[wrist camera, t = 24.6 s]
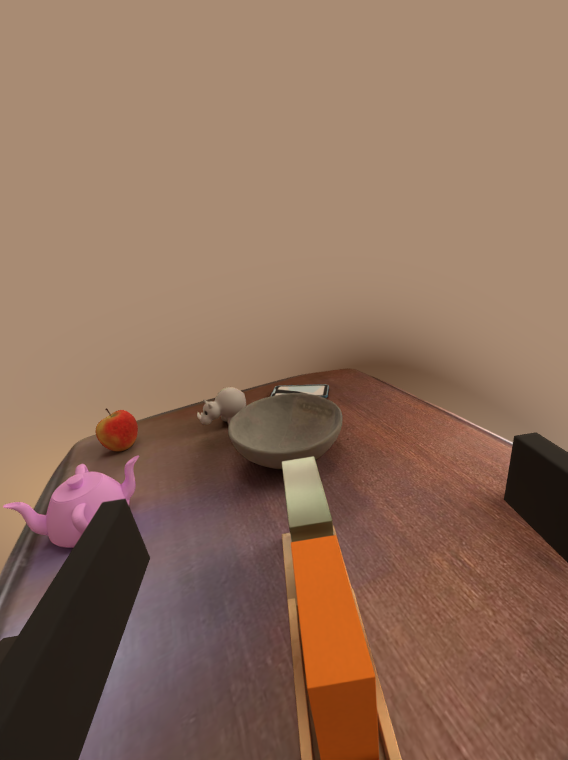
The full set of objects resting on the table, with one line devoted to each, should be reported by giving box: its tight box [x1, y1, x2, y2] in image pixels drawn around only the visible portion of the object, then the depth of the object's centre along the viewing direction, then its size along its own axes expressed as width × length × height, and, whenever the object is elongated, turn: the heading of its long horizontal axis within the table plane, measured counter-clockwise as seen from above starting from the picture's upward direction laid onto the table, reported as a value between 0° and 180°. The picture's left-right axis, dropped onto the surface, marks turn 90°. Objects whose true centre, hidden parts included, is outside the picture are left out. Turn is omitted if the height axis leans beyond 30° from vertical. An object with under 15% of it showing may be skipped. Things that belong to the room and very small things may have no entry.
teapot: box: [3, 455, 139, 548], centre depth 49 cm, size 12×14×9 cm
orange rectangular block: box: [291, 535, 379, 760], centre depth 25 cm, size 10×4×12 cm, turn 4°
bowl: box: [228, 393, 342, 469], centre depth 60 cm, size 21×21×8 cm
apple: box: [96, 409, 138, 451], centre depth 70 cm, size 8×8×10 cm
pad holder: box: [282, 456, 402, 760], centre depth 30 cm, size 24×7×13 cm, turn 4°
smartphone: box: [271, 384, 329, 398], centre depth 85 cm, size 7×1×15 cm
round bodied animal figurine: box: [197, 387, 246, 425], centre depth 74 cm, size 7×12×8 cm, turn 125°
